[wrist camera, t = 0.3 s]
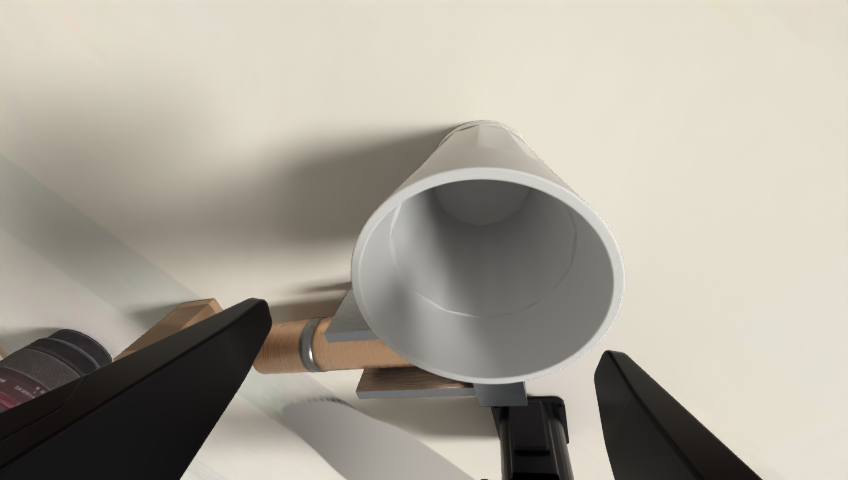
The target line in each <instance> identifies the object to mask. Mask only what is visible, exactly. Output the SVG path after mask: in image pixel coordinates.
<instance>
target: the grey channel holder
mask: <svg viewBox="0 0 848 480" xmlns="http://www.w3.org/2000/svg"><path fill="white" fill-rule="evenodd" d="M324 336H325V338H326V340H327V341H328V343H334V342H346V341H358V340H370V339H379V338H378V337H377V336H376V334H375V333H374V332H373V331H372V329H371V328H370V327H369V325H368V324H367V322H366V321H365V319H364V318H363V316H362V314H361V312H360V310H359V308H358V305H357V303H356V300H355V297H354V293H353V288H352V286H351V288H350V289H349V291H348V293H347V295H346V296H345V298H344V300H343V302H342V303H341V305H340V307H339V308H338V310H337V312H336V314H335V315H334V317H333V319H332V320H331V322H330V324H329V326H328V327H327V329H326V331H325V332H324ZM356 393H357V395H358V397H359V399H367V398H404V397H441V396H477V399H478V402H479V406H480V407H486V406H528V403H527V395H526V387H525V381H522V382H515V383H506V384H480V383H470V382H463V381H458V380H454V379H449V378H446V377H442V376H439V375H436V374H434V373H431V372H428V371H426V370H424V369H421V368H419V367H417V366H407V367H389V368H371V369H364V371H363V374H362V376H361V379H360V381H359V384H358V387H357V389H356Z"/></svg>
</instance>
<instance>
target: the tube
mask: <svg viewBox="0 0 848 480" xmlns="http://www.w3.org/2000/svg"><path fill="white" fill-rule="evenodd" d="M332 319H333V317H321V318H313V319H309V320H299V321H290V322H281V323H272V327H271V330H270V332H269V334H268V336H267V338H266V340H265V342H264V344H263V346H262V348H261V349H260V351H259V353H258V355H257V357H256V359H255V361H254V363H253V366H254V368H255V369H256V370H257V371H258V372H259V373H261V374H280V373H298V372H327V371H335V370H353V369H371V368H389V367H407V366H415V365H414V364H412V363H410V362H408V361H407V360H405V359H403V358H402V357H400V356H399V355H398V354H396V353H395V352H394V351H392V350H391V349H390V348H389V347H388V346H386V345H385V344H384V343H383V342H382V341H381V340H380V339H370V340H358V341H346V342H334V343H328V341H327V340H326V338H325V336H324V332H325V331H326V329H327V327H328V326H329V324H330V322H331V320H332Z"/></svg>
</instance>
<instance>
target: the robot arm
mask: <svg viewBox="0 0 848 480" xmlns="http://www.w3.org/2000/svg"><path fill="white" fill-rule="evenodd" d="M271 327H272V319H271V315H270V311H269V307H268V304H267V302H266V301H265V300H263V299H257V298H249V299H247V300H245V301H243V302H241V303H238V304H236V305H234V306H232V307H230V308H228V309H225V310H223V311H221V312H219V313H217V314H215V315H213V316H210V317H208V318H206V319H204V320H202V321H200V322H198V323H195V324H193V325H191V326H189V327H187V328H185V329H182V330H180V331H178V332H176V333H174V334H172V335H170V336H167V337H165V338H163V339H161V340H159V341H157V342H154V343H152V344H150V345H148V346H146V347H144V348H142V349H139V350H137V351H135V352H133V353H131V354H129V355H126V356H124V357H122V358H120V359H118V360H116V361H114V362H111V363H109V364H107V365H105V366H103V367H101V368H98V369H96V370H94V371H92V372H91V373H90V374H85V375H83V376H81V377H79V378H77V379H75V380H73V381H70V382H68V383H66V384H64V385H62V386H60V387H57V388H55V389H53V390H51V391H49V392H46V393H44V394H42V395H40V396H37V397H35V398H33V399H31V400H28V401H26V402H24V403H21V404H19V405H17V406H14V407H12V408H10V409H7V410H5V411H3V412H0V480H180V479H181V477H182V476H183V474H184V472H185V471H186V469H187V468H188V466H189V465H190V463H191V462H192V460H193V459H194V457H195V455H196V454H197V452H198V451H199V449H200V448H201V446H202V445H203V443H204V442H205V440H206V439H207V437H208V435H209V434H210V432H211V431H212V429H213V428H214V426H215V425H216V423H217V422H218V420H219V418H220V417H221V415H222V414H223V412H224V411H225V409H226V408H227V406H228V405H229V403H230V402H231V400H232V398H233V397H234V395H235V394H236V392H237V391H238V389H239V388H240V386H241V384H242V383H243V381H244V380H245V378H246V376H247V374H248V372H249V371H250V369H251V367H252V365H253V363H254V361H255V359H256V357H257V355H258V353H259V351H260V349H261V348H262V346H263V344H264V342H265V340H266V338H267V336H268V334H269V332H270V330H271ZM594 383H595V389H596V395H597V400H598V406H599V412H600V418H601V424H602V430H603V435H604V440H605V445H606V449H607V453H608V457H609V461H610V464H611V468H612V471H613V475H614V478H615V480H762V479H761V478H760V477H759V476H758V475H757V474H756V473H755V472H754V471H753V470H752V469H750V468H749V467H748V466H747V465H746V464H745V463H744V462H743V461H742V460H741V459H740V458H739V457H737V456H736V455H735V454H734V453H733V452H732V451H731V450H730V449H729V448H728V447H727V446H725V445H724V444H723V443H722V442H721V441H720V440H719V439H718V438H717V437H716V436H715V435H713V434H712V433H711V432H710V431H709V430H708V429H707V428H706V427H705V426H704V425H703V424H702V423H700V422H699V421H698V420H697V419H696V418H695V417H694V416H693V415H692V414H691V413H690V412H688V411H687V410H686V409H685V408H684V407H683V406H682V405H681V404H680V403H679V402H678V401H677V400H675V399H674V398H673V397H672V396H671V395H670V394H669V393H668V392H667V391H666V390H665V389H663V388H662V387H661V386H660V385H659V384H658V383H657V382H656V381H655V380H654V379H653V378H651V377H650V376H649V375H648V374H647V373H646V372H645V371H644V370H643V369H642V368H641V367H640V366H638V365H637V364H636V363H635V362H634V361H633V360H632V359H631V358H630V357H629V356H628V355H626V354H625V353H623V352H617V351H611V350H606V351H605V352H604V353H603V354H602V357H601V359H600V361H599V364H598V366H597V368H596V371H595V374H594ZM527 403H528V406H491V410H492V413H493V417H494V420H495V424H496V428H497V431H498V435H499V438H500V447H501V471H502V480H574V477H573V472H572V467H571V463H570V458H569V453H568V449H567V444H568V443H569V437H568V429H567V420H566V412H565V404H564V401H563V400H562V399H561V398H535V399H527ZM481 480H488V479H481Z"/></svg>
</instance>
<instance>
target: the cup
mask: <svg viewBox="0 0 848 480" xmlns="http://www.w3.org/2000/svg"><path fill="white" fill-rule="evenodd" d="M351 282H352V288H353V293H354V297H355V300H356V303H357V305H358V308H359V310H360V312H361V314H362V316H363V318H364V319H365V321H366V322H367V324H368V325H369V327H370V328H371V329H372V331H373V332H374V333H375V334H376V336H377V337H378V338H379V339H380V340H381V341H382V342H383V343H384V344H385V345H386V346H388V347H389V348H390V349H391V350H392V351H394V352H395V353H396V354H398V355H399V356H400V357H402V358H403V359H405V360H407V361H408V362H410V363H412V364H414V365H415V366H417V367H419V368H421V369H424V370H426V371H428V372H431V373H434V374H436V375H439V376H442V377H446V378H449V379H454V380H458V381H463V382H470V383H480V384H506V383H515V382H522V381H527V380H531V379H535V378H539V377H542V376H545V375H548V374H551V373H553V372H556V371H558V370H560V369H562V368H564V367H566V366H568V365H570V364H572V363H573V362H575V361H577V360H578V359H580V358H581V357H582V356H584V355H585V354H586V353H588V352H589V351H590V350H591V349H592V348H593V347H594V346H595V345H596V344H597V343H598V342H599V341H600V340H601V339H602V338H603V337H604V335H605V334H606V333H607V331H608V330H609V329H610V327H611V325H612V324H613V322H614V320H615V318H616V316H617V314H618V311H619V309H620V306H621V303H622V299H623V294H624V286H625V273H624V265H623V260H622V256H621V252H620V249H619V247H618V244H617V242H616V240H615V238H614V236H613V234H612V232H611V231H610V229H609V227H608V226H607V224H606V223H605V222H604V220H603V219H602V218H601V217H600V216H599V214H598V213H597V212H596V211H595V210H594V209H593V208H592V207H591V206H590V205H589V204H588V203H586V202H585V201H584V200H583V199H582V198H581V197H580V196H579V195H578V194H577V193H576V192H575V191H574V190H573V189H572V188H570V187H569V186H568V185H567V184H566V183H565V182H564V181H563V180H562V179H561V178H560V177H559V176H558V175H557V174H555V173H554V172H553V171H552V170H551V169H550V168H549V167H548V166H547V165H546V164H545V162H544V161H543V160H542V159H541V158H540V157H539V156H538V155H537V154H536V153H535V152H534V151H533V150H532V149H531V148H530V147H529V146H528V144H527V143H526V141H525V140H524V138H523V137H522V136H521V135H520V134H519V133H518V132H517V131H515V130H514V129H512V128H511V127H509V126H507V125H505V124H502V123H499V122H496V121H489V120H479V121H473V122H469V123H466V124H463V125H461V126H459V127H457V128H455V129H454V130H452V131H451V132H450V133H449V134H448V135H446V136H445V138H444V139H443V140H442V141H441V142H440V144H439V145H438V147H437V149H436V150H435V152H434V153H433V154H432V155H431V156H430V157H429V158H428V159H427V160H426V161H425V162H424V163H423V164H422V165H421V167H420V168H419V169H418V170H416V171H415V172H414V173H413V174H412V175H411V176H410V177H409V178H408V179H406V180H405V181H404V182H403V183H402V184H401V185H400V186H399V187H398V188H397V189H396V190H395V191H394V192H393V193H392V194H391V195H390V196H389V197H388V198H387V199H386V200H385V201H384V202H383V203H382V204H381V205H380V206H379V207H378V208H377V209H376V210H375V211H374V212H373V214H372V215H371V216H370V217H369V219H368V220H367V222H366V223H365V225H364V226H363V228H362V230H361V232H360V234H359V236H358V238H357V241H356V244H355V247H354V250H353V255H352V261H351Z"/></svg>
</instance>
